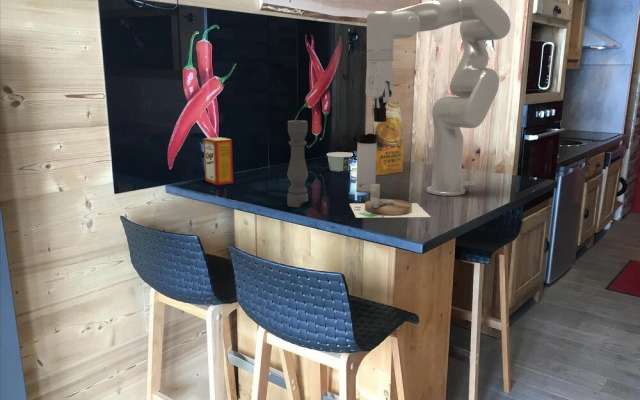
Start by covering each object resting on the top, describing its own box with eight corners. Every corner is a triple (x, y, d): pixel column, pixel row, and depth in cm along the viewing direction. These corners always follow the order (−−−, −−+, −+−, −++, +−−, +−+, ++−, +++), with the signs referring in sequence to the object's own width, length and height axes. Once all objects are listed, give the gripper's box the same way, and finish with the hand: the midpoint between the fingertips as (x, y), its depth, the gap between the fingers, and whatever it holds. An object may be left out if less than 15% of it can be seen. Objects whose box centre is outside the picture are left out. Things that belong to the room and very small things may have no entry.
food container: (322, 168, 229) (322, 152, 227) (349, 166, 232) (349, 151, 231) (331, 172, 217) (331, 156, 216) (359, 171, 221) (359, 155, 220)
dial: (380, 201, 160) (381, 175, 158) (420, 208, 152) (421, 180, 150) (348, 212, 147) (348, 183, 145) (389, 220, 139) (390, 189, 137)
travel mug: (360, 195, 176) (361, 133, 172) (353, 191, 183) (355, 131, 178) (378, 194, 178) (380, 133, 174) (371, 190, 184) (372, 131, 180)
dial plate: (416, 208, 160) (416, 202, 159) (430, 222, 144) (430, 216, 144) (349, 208, 158) (349, 202, 158) (355, 222, 143) (356, 216, 142)
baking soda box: (205, 180, 199) (203, 137, 195) (221, 178, 202) (220, 136, 199) (216, 185, 191) (215, 139, 188) (233, 183, 195) (231, 138, 191)
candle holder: (307, 202, 166) (308, 120, 160) (308, 207, 159) (308, 122, 154) (287, 202, 165) (287, 120, 160) (287, 207, 159) (286, 122, 154)
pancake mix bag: (364, 174, 215) (366, 102, 208) (396, 169, 227) (399, 101, 220) (376, 176, 210) (378, 103, 203) (409, 171, 222) (412, 102, 215)
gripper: (358, 57, 160) (358, 120, 165) (378, 56, 146) (378, 124, 151) (381, 57, 162) (381, 118, 167) (403, 56, 148) (402, 123, 153)
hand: (380, 121), depth 159 cm, fingers closed
